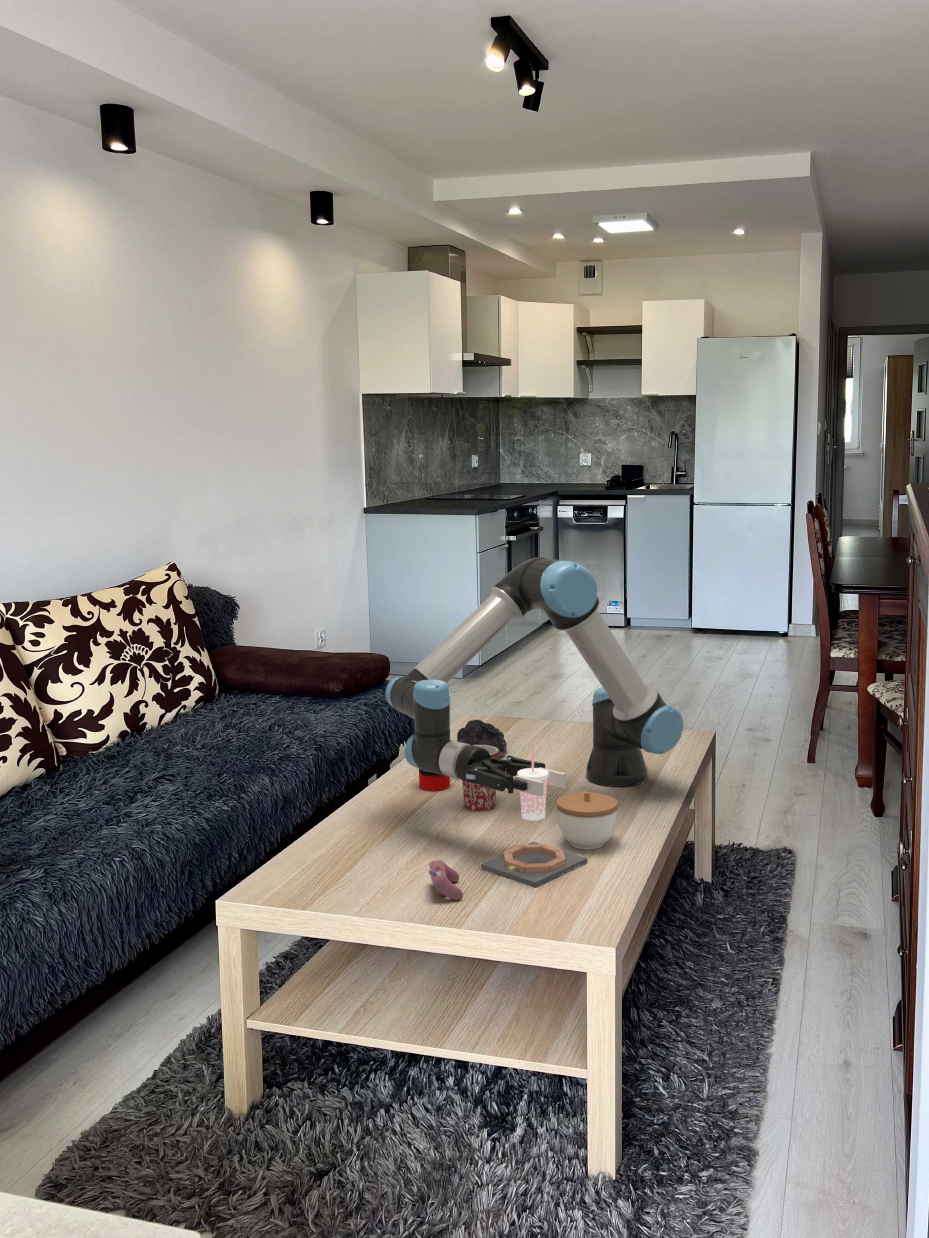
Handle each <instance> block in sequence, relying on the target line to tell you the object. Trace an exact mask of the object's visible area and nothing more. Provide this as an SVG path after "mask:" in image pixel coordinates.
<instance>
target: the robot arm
mask: <svg viewBox="0 0 929 1238" xmlns="http://www.w3.org/2000/svg"><path fill="white" fill-rule="evenodd" d="M595 578H596V577H595V576H594V575H593V573H592V572H591V571H590V570H589V569H587V567H585V566H583V565H582V564H579V563H577V562H574V561H570V560H560V559H553V558H550V557H549V558H548V557H544V556H543V557H532V558H529V559H528V560H525V561H523V562H522V563H520V564H518V565H517V566H515V567H514V568H513V569H512V570H510V571H509V572H508V573H507V574H506V575H505V576H504V577H503V578H501V579H499V581H498V582H497V583H496V584H494V585H493V586H492V588H491V589H490V595H489V597H487V598H486V599H485V601H483V602H482V603H481V604H480V605H479V606H478V607H477V608H476V609H474V611H473V612H472V613H471V614H470V615H468V617H466V618H465V620H463V621H462V622H461V623H459V625H458V626H456V628H455V629H454V630H452V631H451V633H450V634H449V635H447V636H446V638H445V639H444V640H442V641H441V642H440V643H439V644H438V645H437V646H436V647H435V648H434V649H433V650H432V651H431V652H430V653H429V654H428V655H426V656H425V657H424V658H423V659H422V660H421V661H420V662H418V664H417V665H416V666H415V667H414V668H412V670H411V671H410V672H409V673H407V674H406V675H404V676H403V675H402V676H401V675H400V676H397V677H394V678H393V679H390V681H389V682H388V684H387V685H386V688H385V699H386V701H387V703H388V705H390V707H392V708H393V709H394V710H395V711H397V712H398V713H401V714H404V715H406V716H408V717H409V718H411V719H413V720H414V734H412V735H411V736H410V737H408V739H407V741H406V746H405V747H404V757H405V760H406V762H407V763H408V765H410V766H411V767H414V768H416V769H418V770H419V769H421V770H423V771H427V772H428V771H429V772H433V773H437V774H441V775H444V776H448V777H450V778H452V779H454V780H455V781H461V782H462V781H466V782H469V783H473V784H479V785H482V786H485V787H489V788H492V789H495V790H496V791H498V792H506V790H507V794H514V793H515V790H516V791H519V792H520V791H522V792H526V793H530V794H533V795H537V796H544V794H543V782H542V781H538V780H534V779H530V778H526V777H522V776H518V775H517V773H518V771H519V770H522V769H526V768H532V760H529V759H524V758H520V757H516V756H513V755H507V756H506V759H505V758H501V757H491V756H490V754H489V752H488V751H487V750H486V749H484V748H481V747H477V746H473V745H469V744H465V743H461V742H457V740H456V741H455V740H452V739H451V696H450V689H449V685H448V683H449V681H450V680H452V678H453V677H455V675H457V674H458V673H459V672H460V671H461V670H462V669H463V668H464V667H465V666H466V665H467V664H468V663H470V662H471V660H472V659H474V658H475V657H476V656H477V655H478V654H479V653H480V652H481V651H482V650H483V649H484V648H485V647H486V646H487V645H488V644H490V643H491V641H493V640H494V638H496V637H497V636H498V635H499V634H500V633H501V632H502V631H503V630H504V629H505V628H506V627H508V625H509V624H510V623H512V621H514V620H521V619H522V618H523V617H524V616H526V614H527V613H528V612H531V611H533V610H535V609H537V610H540V611H543V612H544V613H545V615H546V616H547V618H548V620H550V622H551V624H552V625H553V627H554V628H555V629H556V630H557V631H562V632H566V635H567V636H568V637H569V638H570V640H571V641H572V643H573V645H574V646H575V648H576V649H577V651H578V652H579V653H580V656H581V657H582V658H583V660H584V661H585V662H586V664H587V666H588V667H589V669H590V670H591V672H592V673H593V676H595V678H596V679H597V681H598V682H599V684H600V685H601V687H599V688H597V689H595V690H594V692H593V694H592V695H593V696H592V702H591V704H592V738H593V739H592V749H591V752H590V755H589V758H588V762H587V765H586V769H585V778H586V779H587V780H588V782H591V783H594V784H598V785H602V786H605V787H607V786H608V787H631V786H637V785H640V784H643V783H645V782H646V781H647V780H648V767H647V764H646V761H645V757H644V755H643V751H644V752H646V753H650V754H651V753H652V754H655V755H662V754H666V753H668V752H669V751H671V750H672V749H674V748H675V747H676V745H677V744H678V742H679V741H680V739H681V738H682V732H683V730H684V719H683V715H682V713H681V712H680V711H679V710H678V709H677V708H675V707H674V706H673V705H670V704H669V705H668V704H667V703H666V702H665V701H664V699H663V697H662V696H661V694H660V692H659V691H658V689H657V688H655V686H653V685H650V684H646V683H645V682H644V680H643V679H642V677H641V676H640V674H639V673H638V671H637V669H636V668H635V665H633V663H632V661H631V660H630V659H629V657H628V656H627V654H626V652H625V651H624V649H623V647H622V646H621V644H620V642H619V641H618V640H617V638H616V637H615V635H614V634H613V632H612V630H611V629H610V628H609V625H608V624H607V623H606V621H605V619H604V618H603V616H602V615H601V613H600V611H599V608H600V603H601V601H600V599H599V597H598V594H597V592H598V584H597V581H596V579H595ZM642 750H643V751H642ZM534 768H540V769H544V770H547V771H548V772H549V774H548V778H547V785H551V786H554V787H559V788H563V789H564V788H567V778H566V777H567V774H566V773H565V772H561V771H557V770H553V769H550V768H549V769H548V768H546V763H544V762H538V761H534ZM646 779H647V780H646ZM645 780H646V781H645ZM644 781H645V782H644ZM642 782H643V783H642ZM639 783H640V784H639Z"/></svg>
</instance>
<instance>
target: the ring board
mask: <svg viewBox="0 0 929 1238" xmlns="http://www.w3.org/2000/svg"><path fill="white" fill-rule="evenodd" d="M586 862H587V863H588V857H585V856H582V855H578V854H575V853H573V852H569V851H566V850H563V849H562V848H559V847H554V846H552V845H549V844H545V843H544V844H543V843H539V842H536V841H531V842H529V843H526V844H518V845H516V846H514V847H510V848H509V849H506V850H504V851H503V854H500V855H499V856H497V857H494V858H492V859H489V860H487V861H485V862H482V863H481V864H480V869H481V870H483V871H486V872H490V873H492V874H495V875H498V876H501V877H504V878H507V879H510V880H513V881H516V882H518V883H521V884H525V885H526V886H531V887H533V886H534V888H538V887H540V886H542V885H544V884H545V882H546V883H548V882H550V881H552V880H554V879H556V878H558V877H557V876H559V875H561V874H563V873H565V874H566V872H567V871H569V870H571V869H573V868H575V867H577V866H579V865H582V864H584V863H586ZM587 863H586V864H587ZM584 865H585V864H584ZM582 866H583V865H582ZM579 867H580V866H579ZM577 868H578V867H577ZM575 869H576V868H575ZM573 870H574V869H573ZM571 871H572V870H571ZM569 872H570V871H569ZM567 873H568V872H567ZM563 875H564V874H563ZM561 876H562V875H561ZM555 877H556V878H555ZM559 877H560V876H559ZM553 878H554V879H553ZM551 879H552V880H551ZM549 880H550V881H549ZM547 881H548V882H547ZM543 883H544V884H543ZM541 884H542V885H541ZM539 885H540V886H539ZM537 886H538V887H537Z"/></svg>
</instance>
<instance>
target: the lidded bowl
mask: <svg viewBox="0 0 929 1238" xmlns="http://www.w3.org/2000/svg"><path fill="white" fill-rule="evenodd" d="M618 806H619V803H618V801H617V799H616V798H614V797H613V796H610V795H609V794H605V793H600V792H593V791H592V792H591V791H583V792H580V791H579V792H572V793H568V794H564V795H562V796H560V797H559V798H557V799H556V809H557V811H556V812H557V813H556V814H557V822H558V823H557V824H558V827H559V830H560V832H561V834H562V836H563V837H564V838H565V839H566V841H567V842H569V844H570V846H571V847H573V848H576V849H580V850H586V849H590V850H597V849H601V848H603V847H604V846H605V843H607V842H608V841H609V840H610V839H611V837H612V835H613V834H614V832H615V829H616V826H617V819H618Z"/></svg>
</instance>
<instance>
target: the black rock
mask: <svg viewBox="0 0 929 1238" xmlns="http://www.w3.org/2000/svg"><path fill="white" fill-rule="evenodd" d="M456 742H461V743H465V744H469V745H489V746H493V747H496V748H498V750H499V751H498V756H497V757H498V758H501V757H503V756H505V754H506V753H507V750H508V749H507V741H506V740H505V734H504V733H503V731H501V730H500V729H499V728H497V727H495V725H493V724H491V723H489V722H484V721H483V720H481V719H471V720H468V721H467V723H466V724H465V726H464V727H461V728H460V729H459V730H458V732H457V735H456Z"/></svg>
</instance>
